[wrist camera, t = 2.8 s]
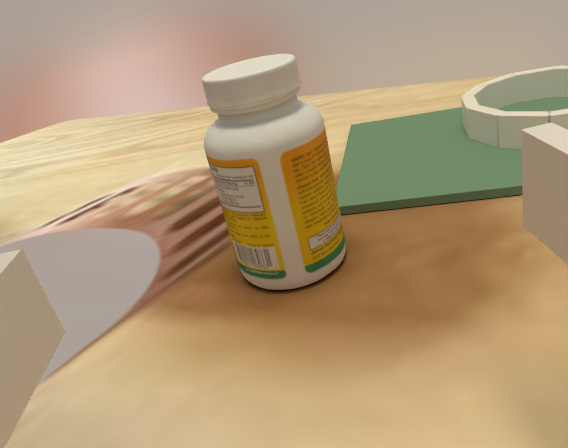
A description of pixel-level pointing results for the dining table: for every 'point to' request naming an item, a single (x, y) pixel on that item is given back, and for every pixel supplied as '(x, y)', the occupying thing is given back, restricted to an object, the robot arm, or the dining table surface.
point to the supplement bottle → (273, 173)
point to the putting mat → (427, 162)
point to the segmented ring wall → (508, 90)
